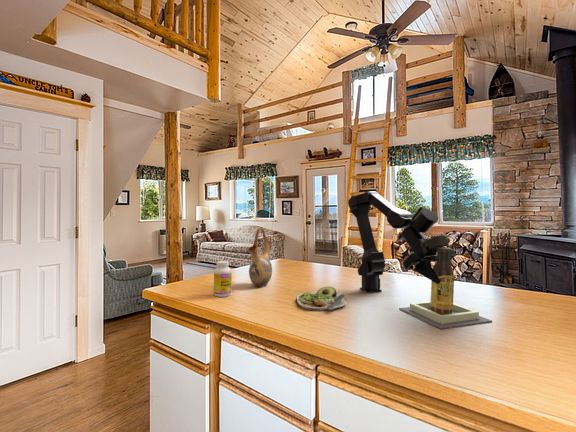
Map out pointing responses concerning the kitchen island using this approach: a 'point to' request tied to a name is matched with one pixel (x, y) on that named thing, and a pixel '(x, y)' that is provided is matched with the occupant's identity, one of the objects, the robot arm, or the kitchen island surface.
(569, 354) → the kitchen island surface
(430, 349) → the kitchen island surface
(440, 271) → the sauce bottle
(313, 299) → the salad plate
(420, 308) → the bottle collar
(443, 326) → the rubber mat
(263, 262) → the ceramic vessel
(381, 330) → the kitchen island surface
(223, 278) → the supplement bottle
